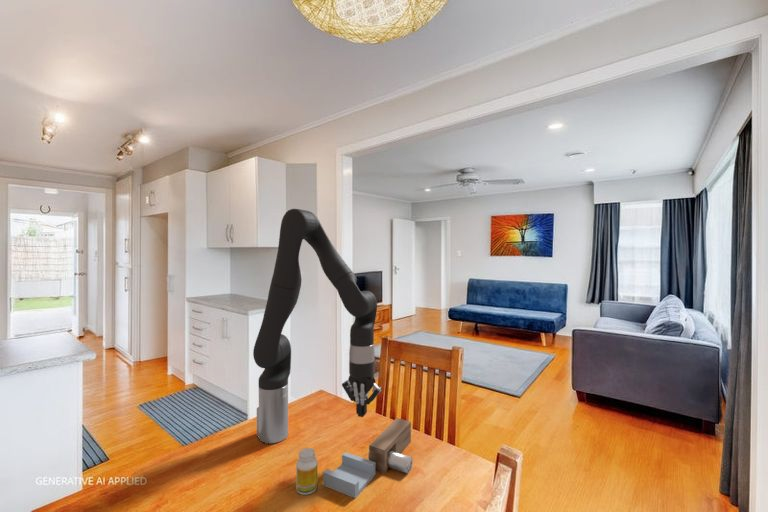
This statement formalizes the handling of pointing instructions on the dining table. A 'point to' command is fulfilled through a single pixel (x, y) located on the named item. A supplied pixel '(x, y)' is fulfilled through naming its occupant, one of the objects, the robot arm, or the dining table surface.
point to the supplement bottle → (306, 472)
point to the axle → (398, 461)
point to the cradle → (350, 475)
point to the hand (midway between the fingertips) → (361, 415)
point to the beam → (390, 443)
